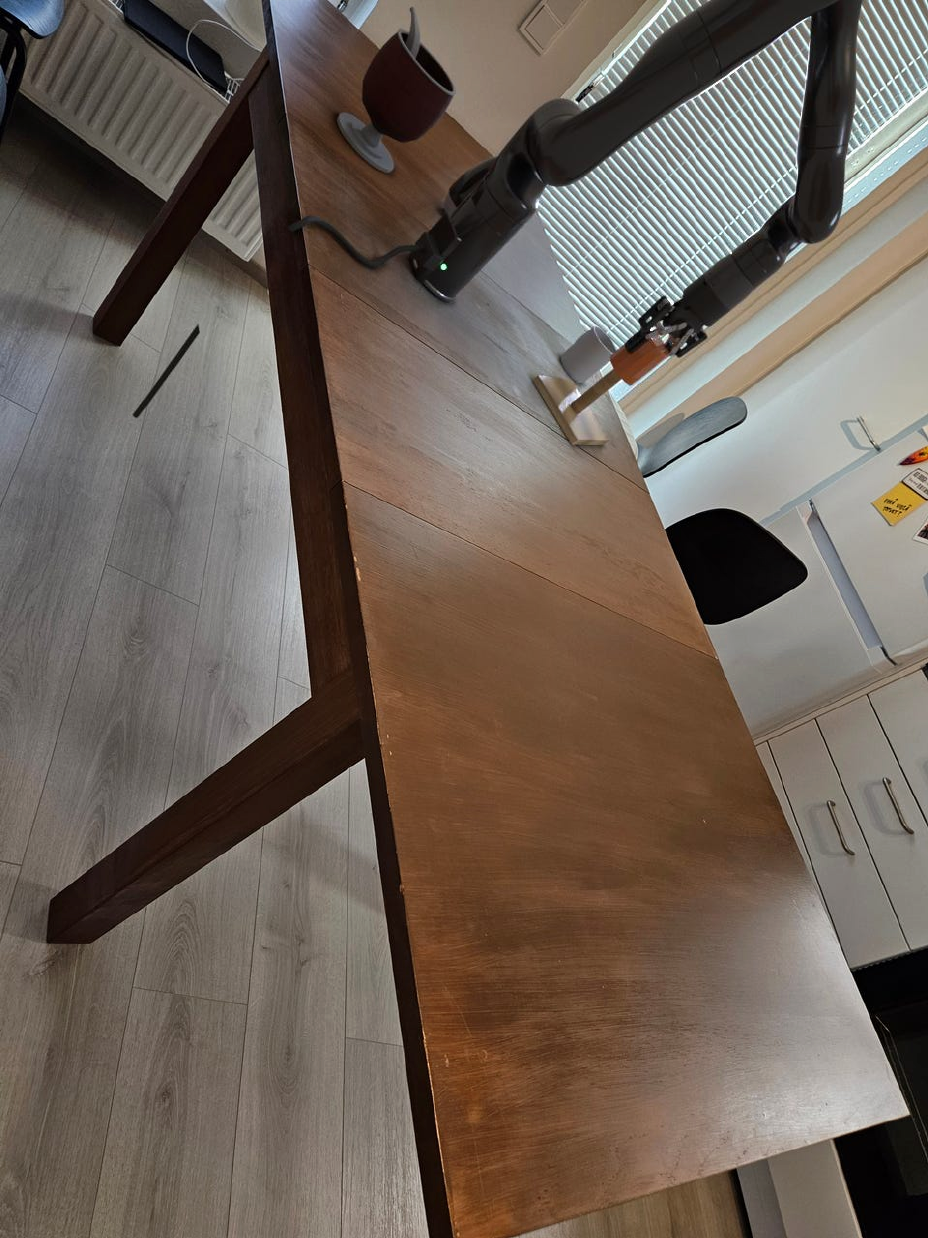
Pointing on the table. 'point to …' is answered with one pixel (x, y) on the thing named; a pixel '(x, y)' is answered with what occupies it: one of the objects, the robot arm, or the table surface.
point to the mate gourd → (398, 97)
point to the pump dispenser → (467, 184)
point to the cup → (588, 354)
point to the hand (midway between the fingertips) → (637, 356)
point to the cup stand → (576, 407)
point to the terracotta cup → (639, 360)
